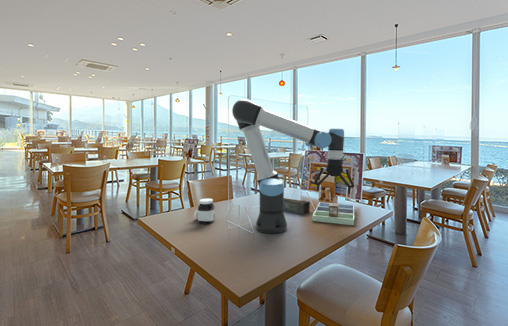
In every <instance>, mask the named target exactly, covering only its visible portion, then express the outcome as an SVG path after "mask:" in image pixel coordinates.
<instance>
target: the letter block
mask: <svg viewBox="0 0 508 326" xmlns="http://www.w3.org/2000/svg"><path fill="white" fill-rule="evenodd" d="M339 204H340V203H333V204H329V217H337V218H338V206H339Z"/></svg>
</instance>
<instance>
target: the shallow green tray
mask: <svg viewBox="0 0 508 326" xmlns="http://www.w3.org/2000/svg"><path fill="white" fill-rule="evenodd" d="M315 211H323V212H329V207H319V206H318V205H317V206H316V208H315V210H314V212H315ZM338 213H344V214H354V215H355V208H354V209H342V208H338Z"/></svg>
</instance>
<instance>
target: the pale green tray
mask: <svg viewBox="0 0 508 326" xmlns="http://www.w3.org/2000/svg"><path fill="white" fill-rule="evenodd" d="M312 222H317V223H318V222H320V223H329V224H337V225H347V226H355V213H354V214H344V213H338V218H337V217H329V212H323V211H315V210H314V212H313V214H312Z"/></svg>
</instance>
